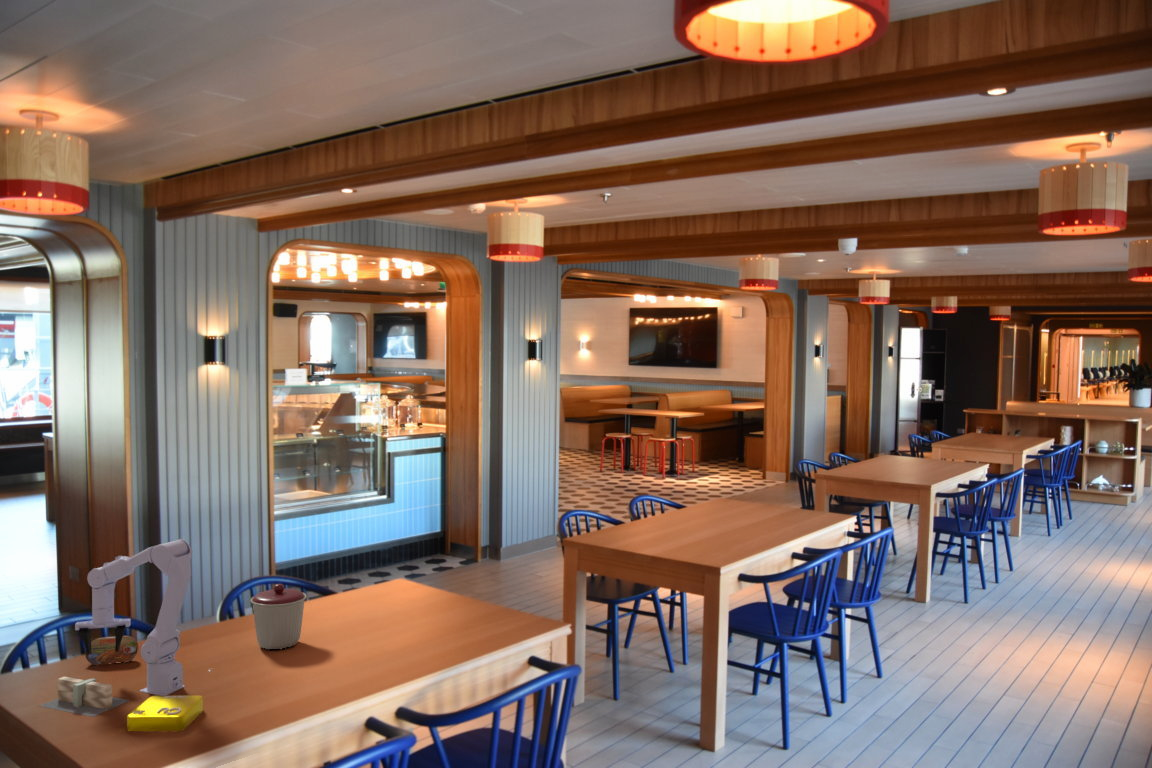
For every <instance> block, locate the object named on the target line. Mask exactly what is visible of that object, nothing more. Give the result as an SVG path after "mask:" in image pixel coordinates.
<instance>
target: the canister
mask: <svg viewBox="0 0 1152 768" xmlns="http://www.w3.org/2000/svg"><path fill="white" fill-rule="evenodd" d="M307 597H308V596H307V594H306V593H305V592H302V590H299V589H296V588H295V589H294V588H285V585H284V584H282V583H277V584H274V585H273V588H272V589H268V590H265V591H261V592H258V593H256V594H255V595H254V596H252V597H251V598H250V603H251V604H252V609H253V610H252V611H253V619H254V620H253V621H254V627H255V635H256V640H257V643H258V645H259V646H260V648H262V649H264V648H265V649H264V650H269V649H280V650H282V649H281V648H285V649H287V648H286V647H289V648H292V647H294V646H295V645H297V644H298V642H299V641H300V639H301V632H302V627H303V626H302V624H303V616H304V608H305V600H306V599H307ZM293 645H294V646H293ZM291 646H292V647H291Z"/></svg>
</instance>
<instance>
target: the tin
mask: <svg viewBox="0 0 1152 768" xmlns="http://www.w3.org/2000/svg"><path fill="white" fill-rule="evenodd" d="M115 644H116V639H115V636H104V637H98V638H95V639H94V640H91V652H90V654H87V652H86V649H84V651H85V652H84V655H85V660H86V661H87V662H88V663H89V664H91V665H94V666H98V665H97V664H109V663H116V662H126V661H127V663H129V662H131V661H133V659H134V658H135V657H136V656H137V655H138V654H137V653H138V651H139V643H138V641H137V639H135V638H134V637H133V636H130V635H123V637H122V640H121V644H120V650H119V651H118V652H115ZM109 665H110V664H109Z"/></svg>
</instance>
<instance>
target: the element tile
mask: <svg viewBox="0 0 1152 768" xmlns="http://www.w3.org/2000/svg"><path fill="white" fill-rule="evenodd" d="M203 704H204V697H203V696H202V695H180V694H179V695H176V694H175V695H166V696H161V695H152V696H150V697H148V698H146V699H145V700H144V701H143V702H142V703H140V704H139V705H138V706H136V707H135V708H134V709H133V710H132V711H130V712H129V713H128V714H127V715H126V731H127V730H129V731H178V732H181V730H182V731H184V730H185V729H187V728H188V727H189V726H190V725H191V724H192V723H191V722H192V721H193V720H194V721H195V720H196V719H197V718H198V717H199V716H200V715H201V714H202V713H203V712H204V707H203V706H204V705H203ZM202 711H203V712H202ZM199 714H200V715H199ZM197 716H198V717H197ZM196 717H197V718H196ZM195 718H196V719H195ZM194 721H193V722H194ZM190 723H191V724H190ZM189 724H190V725H189ZM183 729H184V730H183ZM129 731H128V732H129Z"/></svg>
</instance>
